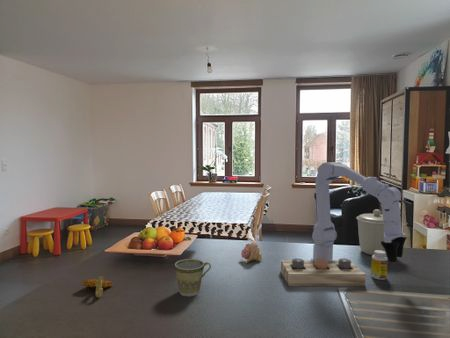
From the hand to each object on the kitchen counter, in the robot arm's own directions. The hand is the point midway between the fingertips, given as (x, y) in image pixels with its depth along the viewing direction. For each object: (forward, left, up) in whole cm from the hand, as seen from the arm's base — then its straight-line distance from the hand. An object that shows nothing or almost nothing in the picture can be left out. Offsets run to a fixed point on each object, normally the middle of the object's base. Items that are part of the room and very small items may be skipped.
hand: (395, 259), depth 117 cm
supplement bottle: (-10, -1, -11) cm, 15 cm away
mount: (-9, -24, -11) cm, 27 cm away
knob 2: (-9, -15, -7) cm, 19 cm away
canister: (-39, +12, -11) cm, 42 cm away
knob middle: (-9, -24, -7) cm, 26 cm away
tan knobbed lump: (-28, -49, -11) cm, 57 cm away
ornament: (+1, -105, -11) cm, 105 cm away
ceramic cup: (+2, -72, -11) cm, 73 cm away
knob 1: (-9, -33, -7) cm, 35 cm away
